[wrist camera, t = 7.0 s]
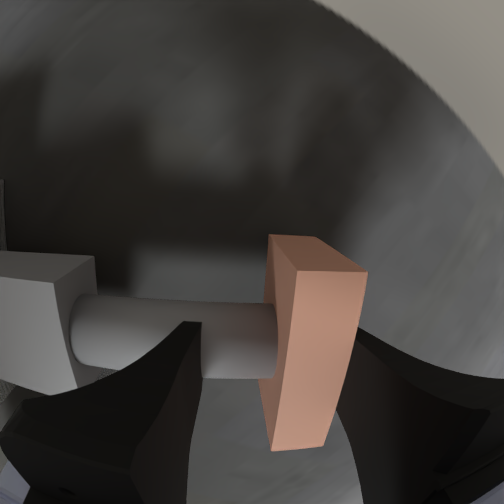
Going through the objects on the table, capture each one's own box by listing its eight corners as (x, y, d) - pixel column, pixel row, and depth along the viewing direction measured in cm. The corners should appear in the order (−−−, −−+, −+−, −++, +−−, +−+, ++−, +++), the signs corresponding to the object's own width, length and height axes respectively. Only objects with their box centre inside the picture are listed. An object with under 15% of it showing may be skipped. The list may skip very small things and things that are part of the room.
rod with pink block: (296, 373, 14) (322, 446, 9) (-10, 338, 12) (-53, 377, 7) (315, 236, 12) (368, 272, 7) (-31, 227, 10) (-91, 247, 6)
